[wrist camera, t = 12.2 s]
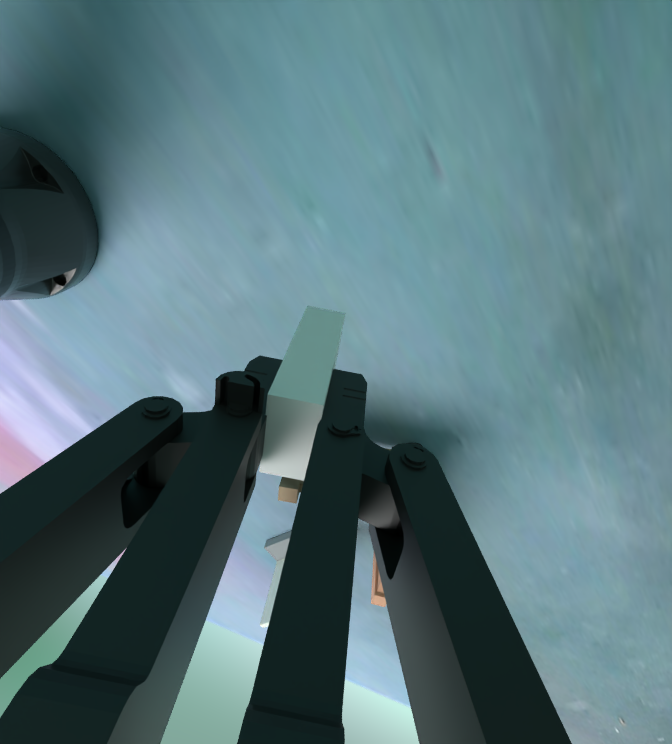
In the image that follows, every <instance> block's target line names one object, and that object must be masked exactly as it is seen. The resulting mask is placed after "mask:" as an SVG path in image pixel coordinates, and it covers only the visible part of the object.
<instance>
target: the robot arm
mask: <svg viewBox="0 0 672 744" xmlns="http://www.w3.org/2000/svg"><path fill="white" fill-rule="evenodd" d="M97 247H98V232H97V225H96V220H95V216H94V212H93V209H92V207H91V204H90V202H89V199H88V197H87V195H86V193H85V191H84V189H83V188H82V186H81V184H80V183H79V181H78V180H77V178H76V177H75V175H74V174H73V173H72V171H71V170H70V169H69V168H68V167H67V166H66V164H65V163H64V162H63V161H62V160H61V159H60V158H59V157H58V156H57V155H55V154H54V153H53V152H52V151H51V150H49V149H48V148H47V147H45V146H44V145H43V144H41V143H40V142H38V141H36V140H35V139H33V138H31V137H29V136H27V135H25V134H22V133H20V132H17V131H14V130H10V129H5V128H0V300H21V299H40V298H46V297H50V296H54V295H57V294H59V293H61V292H63V291H65V290H67V289H69V288H71V287H73V286H75V285H76V284H78V283H79V282H80V281H82V280H83V279H84V278H85V277H86V275H87V274H88V273H89V271H90V269H91V268H92V266H93V263H94V261H95V257H96V253H97ZM344 317H345V313H342V312H337V311H332V310H327V309H321V308H316V307H311V306H307V308H306V310H305V312H304V315H303V317H302V319H301V321H300V323H299V326H298V328H297V330H296V332H295V335H294V337H293V339H292V341H291V343H290V346H289V348H288V350H287V352H286V355H285V357H284V359H283V360H280V359H275V358H269V357H264V356H258V357H256V358H255V359H253V360H251V361H250V362H249V363H248V365H247V367H246V368H245V371H233V372H227V373H224V374H222V375H220V376H219V377H218V378H217V379H216V390H215V405H214V407H213V409H212V410H210V411H206V412H183V407H182V405H181V404H180V403H179V402H178V401H176V400H174V399H173V398H168V397H164V396H153V397H148V398H144V399H141V400H139V401H137V402H135V403H134V404H132V405H131V406H129V407H128V408H126V409H125V410H123V411H122V412H120V413H119V414H117V415H116V416H114V417H113V418H112V419H110V420H109V421H107V422H106V423H104V424H103V425H101V426H100V427H98V428H97V429H95V430H94V431H92V432H91V433H89V434H88V435H86V436H85V437H83V438H82V439H81V440H79V441H78V442H76V443H75V444H73V445H72V446H70V447H69V448H67V449H66V450H64V451H63V452H61V453H60V454H58V455H57V456H55V457H54V458H52V459H51V460H50V461H48V462H47V463H45V464H44V465H42V466H41V467H39V468H38V469H36V470H35V471H33V472H32V473H30V474H29V475H27V476H26V477H24V478H23V479H21V480H20V481H19V482H17V483H16V484H14V485H13V486H11V487H10V488H8V489H7V490H5V491H4V492H2V493H1V494H0V678H1V677H2V676H3V675H4V674H5V673H6V672H7V671H8V670H9V669H10V668H11V667H12V666H13V665H14V663H16V662H17V660H19V659H20V658H21V657H22V655H23V654H24V653H25V652H26V651H27V650H28V649H29V648H30V647H31V646H32V645H33V644H34V643H35V642H36V641H37V640H38V639H39V638H40V637H41V636H42V635H43V633H45V632H46V631H47V629H48V628H49V627H50V626H51V625H52V624H53V623H54V622H55V621H56V620H57V619H58V618H59V617H60V616H61V615H62V614H63V613H64V612H65V611H66V610H67V609H68V608H69V607H70V606H71V605H72V604H73V603H74V602H75V600H76V599H77V598H78V597H79V596H80V595H81V594H82V593H83V592H84V591H85V590H86V589H87V588H88V587H89V586H90V585H91V584H92V583H93V582H94V581H95V580H96V579H97V578H98V577H99V576H100V575H101V574H102V572H103V571H104V570H105V569H106V568H107V567H108V566H109V565H110V564H111V563H112V562H113V561H114V560H115V559H116V558H117V557H118V556H119V555H120V554H121V553H122V552H123V551H124V550H125V549H126V548H127V549H126V550H125V552H124V553H123V555H122V557H121V558H120V560H119V562H118V563H117V565H116V566H115V568H114V570H113V571H112V573H111V575H110V576H109V578H108V579H107V581H106V583H105V584H104V586H103V588H102V589H101V591H100V592H99V594H98V596H97V598H96V599H95V601H94V602H93V604H92V605H91V607H90V609H89V610H88V612H87V614H86V615H85V617H84V619H83V620H82V622H81V624H80V625H79V627H78V628H77V630H76V632H75V633H74V635H73V636H72V638H71V640H70V641H69V643H68V644H67V646H66V648H65V649H64V651H63V652H62V654H61V655H60V656H59V658H58V659H57V660H56V661H55V662H53V663H52V664H49V665H46V666H43V667H40V668H38V669H37V670H36V671H35V672H34V673H33V674H31V675H30V676H29V677H28V679H27V680H26V681H25V683H24V684H23V685H22V687H21V688H20V689H19V691H18V692H17V693H16V695H15V696H14V698H13V699H12V701H11V703H10V704H9V706H8V707H7V709H6V710H5V712H4V713H3V715H2V716H1V718H0V744H160V742H161V740H162V737H163V734H164V731H165V729H166V726H167V723H168V721H169V718H170V715H171V713H172V710H173V707H174V704H175V702H176V699H177V696H178V693H179V690H180V688H181V685H182V683H183V680H184V677H185V674H186V671H187V669H188V666H189V663H190V661H191V658H192V655H193V653H194V650H195V647H196V644H197V642H198V639H199V636H200V634H201V631H202V628H203V626H204V623H205V620H206V617H207V615H208V612H209V609H210V606H211V604H212V601H213V598H214V596H215V593H216V590H217V587H218V585H219V582H220V579H221V577H222V574H223V571H224V568H225V566H226V563H227V560H228V558H229V555H230V552H231V549H232V547H233V544H234V541H235V538H236V536H237V533H238V530H239V528H240V525H241V522H242V519H243V517H244V514H245V511H246V509H247V506H248V503H249V500H250V498H251V495H252V492H253V490H254V487H255V482H256V472H257V469H258V467H259V464H260V471H259V472H262V473H267V474H272V475H277V476H282V477H287V478H292V479H297V480H302V481H304V482H303V486H302V491H301V495H300V499H299V503H298V507H297V511H296V515H295V519H294V523H293V527H292V531H291V536H290V540H289V544H288V548H287V552H286V556H285V560H284V564H283V568H282V572H281V576H280V581H279V585H278V589H277V593H276V597H275V601H274V605H273V609H272V613H271V617H270V621H269V626H268V630H267V634H266V638H265V642H264V646H263V650H262V654H261V658H260V662H259V666H258V671H257V675H256V679H255V683H254V687H253V691H252V695H251V698H250V702H249V705H248V707H247V709H246V712H245V716H244V719H243V723H242V727H241V731H240V735H239V739H238V743H237V744H344V742H345V739H344V727H343V724H342V705H343V693H344V681H345V670H346V658H347V646H348V634H349V622H350V610H351V598H352V586H353V574H354V562H355V550H356V538H357V526H358V518H359V519H361V520H363V521H365V522H367V523H369V532H370V536H371V540H372V545H373V549H374V553H375V557H376V561H377V566H378V570H379V574H380V578H381V583H382V587H383V591H384V595H385V599H386V604H387V608H388V612H389V616H390V621H391V625H392V629H393V633H394V637H395V642H396V646H397V650H398V654H399V659H400V663H401V667H402V671H403V675H404V680H405V684H406V688H407V692H408V697H409V701H410V705H411V709H412V713H413V718H414V722H415V726H416V730H417V734H418V739H419V743H420V744H572V743H571V741H570V739H569V737H568V735H567V733H566V731H565V728H564V726H563V724H562V722H561V720H560V718H559V716H558V714H557V712H556V709H555V707H554V705H553V703H552V701H551V699H550V697H549V695H548V693H547V690H546V688H545V686H544V684H543V682H542V680H541V678H540V676H539V674H538V671H537V669H536V667H535V665H534V663H533V661H532V659H531V657H530V654H529V652H528V650H527V648H526V646H525V644H524V642H523V640H522V638H521V635H520V633H519V631H518V629H517V627H516V625H515V623H514V621H513V619H512V616H511V614H510V612H509V610H508V608H507V606H506V604H505V602H504V600H503V597H502V595H501V593H500V591H499V589H498V587H497V585H496V583H495V580H494V578H493V576H492V574H491V572H490V570H489V568H488V566H487V564H486V561H485V559H484V557H483V555H482V553H481V551H480V549H479V547H478V545H477V542H476V540H475V538H474V536H473V534H472V532H471V530H470V528H469V526H468V523H467V521H466V519H465V517H464V515H463V513H462V511H461V509H460V506H459V504H458V502H457V500H456V498H455V496H454V494H453V492H452V490H451V487H450V485H449V483H448V481H447V479H446V477H445V475H444V473H443V471H442V468H441V466H440V464H439V462H438V460H437V459H436V458H435V456H434V455H433V454H432V453H431V452H429V451H428V450H427V449H425V448H423V447H420V446H418V445H414V444H408V443H406V444H398V445H396V446H394V447H392V449H391V450H390V451H389V450H387V449H385V448H382V447H380V446H378V445H377V444H375V443H374V442H372V441H371V440H370V439H369V438H368V437H367V436H366V434H365V431H364V415H365V403H366V392H367V382H366V380H365V379H364V377H363V376H362V374H357V373H352V372H347V371H341V370H336V369H335V365H336V360H337V355H338V349H339V344H340V339H341V333H342V328H343V323H344ZM260 461H261V462H260Z"/></svg>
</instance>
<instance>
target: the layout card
mask: <svg viewBox="0 0 672 744" xmlns="http://www.w3.org/2000/svg"><path fill="white" fill-rule="evenodd" d="M290 536H291V531H289V532H287V533H284V534H282V535H279V536H277V537H274V538H272V539H269V540H267V541H266V544H265V547H264V548H265V549H266V550H267V551H268V552H269V553H270V554H271V555H272V557H273V558H274V559H275V560H276V561H277V563H276V567H275V571H274V574H273V578H272V582H271V585H270V589H269V593H268V596H267V600H266V604H265V608H264V611H263V615H262V619H261V622H260V626H261V627H262V628H264V627H267V626H269V621H270V617H271V613H272V609H273V605H274V601H275V597H276V593H277V589H278V585H279V581H280V576H281V572H282V568H283V564H284V560H285V556H286V552H287V548H288V544H289V540H290Z"/></svg>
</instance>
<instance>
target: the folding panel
mask: <svg viewBox="0 0 672 744" xmlns="http://www.w3.org/2000/svg"><path fill="white" fill-rule="evenodd" d="M371 604H374V605H378V606H383V607H385V606H386V599H385V595H384V591H383V587H382V583H381V578H380V574H379V570H378V566H377V561H376V557H375V553H374V556H373V576H372V596H371Z"/></svg>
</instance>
